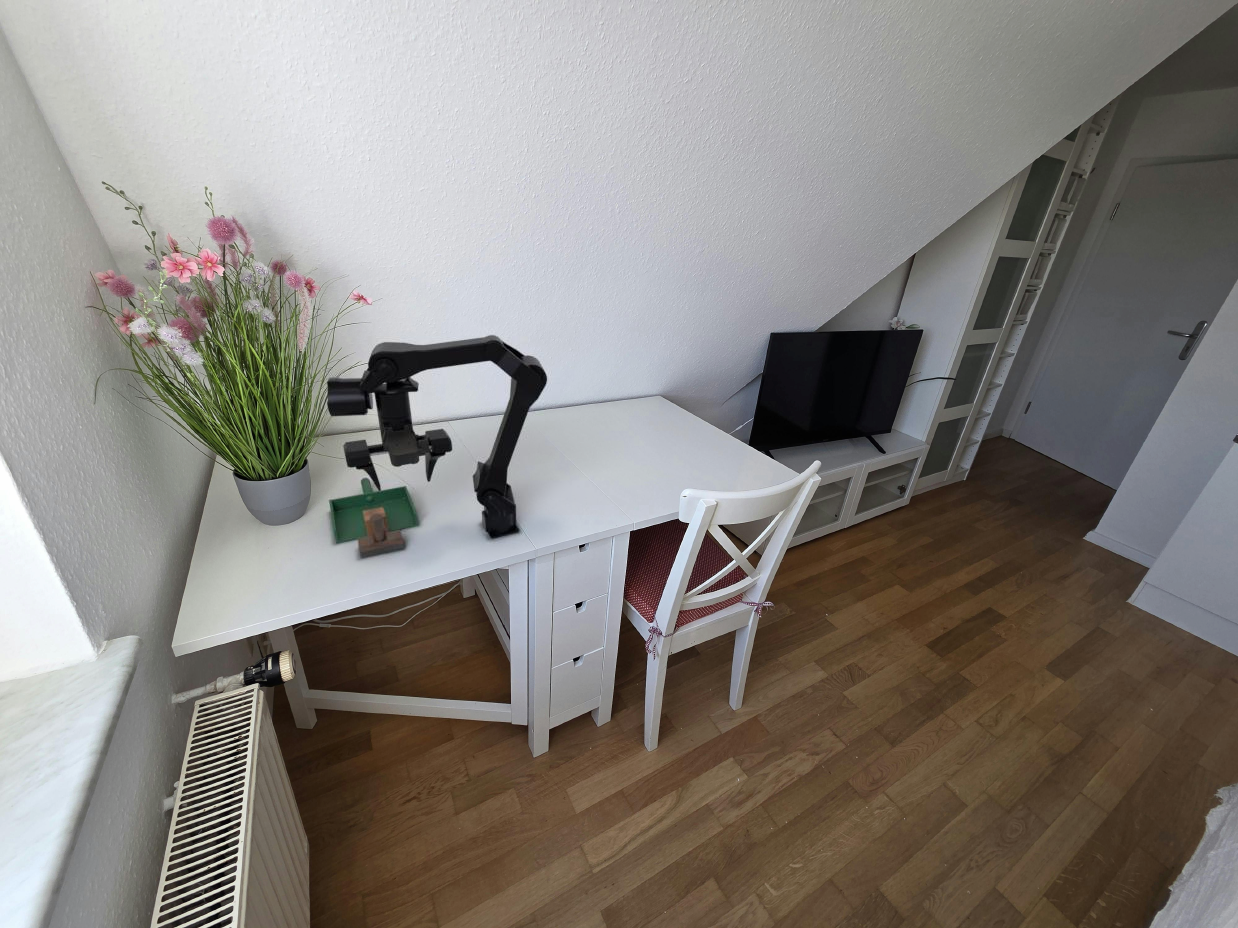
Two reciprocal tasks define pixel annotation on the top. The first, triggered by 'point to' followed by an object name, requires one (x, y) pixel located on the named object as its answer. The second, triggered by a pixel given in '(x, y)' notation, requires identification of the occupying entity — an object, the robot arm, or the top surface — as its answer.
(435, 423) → the top surface
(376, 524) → the brush
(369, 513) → the brown wooden cube
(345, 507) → the dustpan
